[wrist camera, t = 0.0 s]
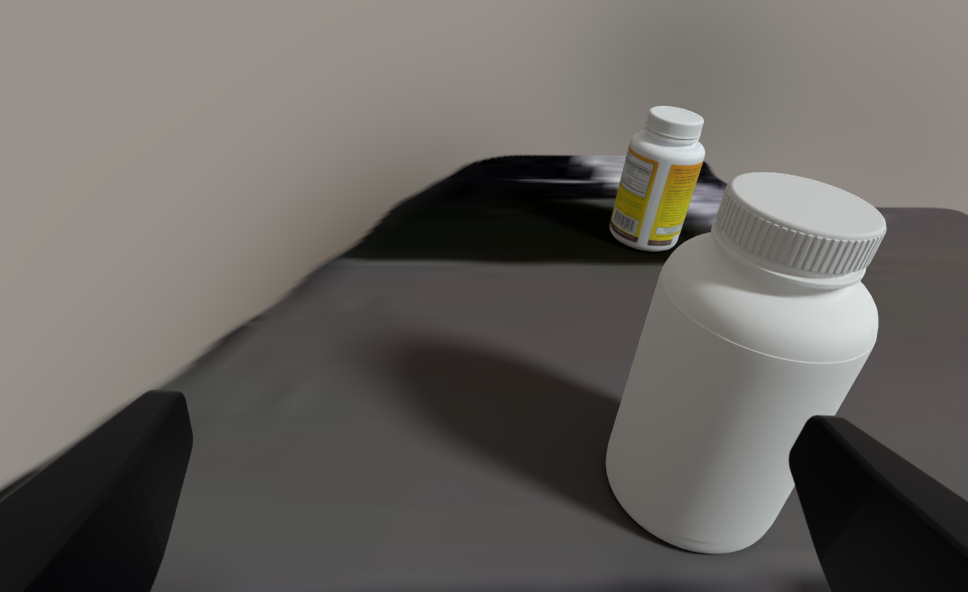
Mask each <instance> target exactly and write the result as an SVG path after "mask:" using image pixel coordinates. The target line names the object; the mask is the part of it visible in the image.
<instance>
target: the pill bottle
mask: <svg viewBox="0 0 968 592" xmlns="http://www.w3.org/2000/svg"><path fill="white" fill-rule="evenodd" d="M885 233H886V223H885V220H884V218H883V216H882V215H881V213H880V212H879V211H878V210H877V209H875V208H874V207H873V206H872V205H870V204H869V203H867V202H865V201H864V200H862V199H861V198H859V197H857V196H855V195H853V194H851V193H848V192H846V191H844V190H842V189H839V188H837V187H834V186H831V185H828V184H825V183H822V182H819V181H815V180H812V179H808V178H803V177H799V176H794V175H788V174H781V173H771V172H770V173H769V172H755V173H747V174H742V175H739V176H737V177H735V178H734V179H733V180H732V181H731V182H729V183H728V185H727V187H726V190H725V192H724V195H723V198H722V201H721V204H720V207H719V210H718V213H717V216H716V221H715V222H714V224H713V226H712V229H711V232H710V233H706V234H702V235H699V236H696V237H694V238H692V239H690V240H688V241H686V242H684V243H683V244H682V245H680V246H679V247H678V248H677V249H676V250H675V251H674V252H673V253H672V254H671V256H670V257H669V258H668V260H667V261H666V262H665V264H664V266H663V268H662V271H661V273H660V276H659V279H658V282H657V286H656V289H655V292H654V295H653V299H652V302H651V305H650V308H649V312H648V315H647V318H646V322H645V325H644V328H643V331H642V335H641V338H640V341H639V344H638V348H637V351H636V354H635V357H634V361H633V364H632V367H631V371H630V374H629V377H628V380H627V384H626V387H625V390H624V393H623V397H622V400H621V403H620V407H619V410H618V413H617V416H616V420H615V423H614V426H613V429H612V433H611V436H610V439H609V443H608V448H607V455H606V471H607V476H608V480H609V483H610V486H611V488H612V491H613V493H614V495H615V497H616V498H617V500H618V501H619V503H620V504H621V506H622V507H623V508H624V510H625V511H626V512H627V513H628V514H629V515H630V516H631V517H632V518H633V519H634V520H635V521H636V522H637V523H638V524H639V525H641V526H642V527H643V528H644V529H646V530H647V531H649V532H650V533H651V534H653V535H655V536H656V537H658V538H660V539H662V540H664V541H666V542H668V543H670V544H672V545H675V546H677V547H680V548H683V549H686V550H690V551H694V552H699V553H708V554H723V553H730V552H735V551H738V550H741V549H744V548H746V547H748V546H750V545H752V544H753V543H755V542H756V541H758V540H759V539H760V538H761V537H762V536H763V535H764V534H765V533H766V531H767V530H768V529H769V528H770V526H771V525H772V524H773V522H774V521H775V519H776V517H777V515H778V514H779V512H780V510H781V508H782V507H783V505H784V503H785V501H786V500H787V498H788V496H789V494H790V493H791V491H792V489H793V487H794V486H795V484H794V481H793V478H792V475H791V472H790V468H789V461H788V460H789V453H790V450H791V448H792V446H793V444H794V443H795V441H796V439H797V437H798V435H799V434H800V432H801V430H802V428H803V427H804V425H805V423H806V421H807V420H808V419H809V418H810V417H812V416H814V415H835V414H836V412H837V410H838V409H839V407H840V405H841V403H842V402H843V400H844V398H845V396H846V395H847V393H848V391H849V389H850V388H851V386H852V384H853V382H854V381H855V379H856V377H857V375H858V374H859V372H860V370H861V368H862V367H863V365H864V363H865V361H866V360H867V358H868V356H869V354H870V352H871V350H872V348H873V346H874V344H875V342H876V337H877V330H878V313H877V309H876V306H875V303H874V301H873V299H872V297H871V295H870V293H869V292H868V290H867V289H866V288H865V286H864V285H863V284H862V283H861V282H860V280H861V279H862V278H863V276H864V274H865V271H866V267H867V266H868V265H869V264H870V262H871V260H872V258H873V257H874V255H875V253H876V251H877V249H878V247H879V245H880V243H881V241H882V239H883V237H884V235H885Z"/></svg>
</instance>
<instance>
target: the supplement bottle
mask: <svg viewBox="0 0 968 592" xmlns="http://www.w3.org/2000/svg"><path fill="white" fill-rule="evenodd" d="M703 123H704V120H703V118H702V117H701V116H699V115H698V114H695V113H693V112H690V111H688V110H685V109H681V108H677V107H669V106H656V107H653V108H651V109H650V111H649V114H648V118H647V121H646V123H645V128H644V130H642V131H639V132H637V133H636V134H634V136H633V137H632V138H631V141H630V144H629V148H628V152H627V156H626V160H625V164H624V168H623V172H622V176H621V180H620V184H619V188H618V193H617V197H616V201H615V205H614V209H613V213H612V217H611V221H610V230H611V233H612V235H613V236H614V237H615V238H616V239H617V240H618V241H620V242H621V243H623V244H625V245H627V246H629V247H631V248H634V249H638V250H642V251H650V252H658V251H665V250H668V249H670V248H671V247H673V246H674V245H675V244H676V242H677V240H678V237H679V234H680V231H681V228H682V225H683V222H684V219H685V216H686V213H687V210H688V207H689V204H690V200H691V197H692V194H693V191H694V188H695V185H696V182H697V179H698V176H699V173H700V169H701V166H702V163H703V160H704V156H705V150H704V148H703V146H702V145H701V144H700V143H699V142H698V139H699V136H700V135H701V133H700V132H701V129H702V126H703Z"/></svg>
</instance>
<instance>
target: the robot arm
mask: <svg viewBox="0 0 968 592" xmlns="http://www.w3.org/2000/svg"><path fill="white" fill-rule="evenodd" d="M192 445H193V433H192V428H191V423H190V418H189V413H188V408H187V403H186V399H185V396H184V395H183V393H181V392H180V391H173V390H150V391H148V392H146V393H144V394H143V395H141V396H140V397H139V398H137V399H136V400H135V401H133V402H132V403H131V404H129V405H128V406H127V407H125V408H124V409H123V410H121V411H120V412H119V413H117V414H116V415H115V416H113V417H112V418H111V419H109V420H108V421H107V422H105V423H104V424H103V425H101V426H100V427H99V428H97V429H96V430H95V431H93V432H92V433H91V434H89V435H88V436H87V437H85V438H84V439H82V440H81V441H80V442H78V443H77V444H76V445H74V446H73V447H72V448H70V449H69V450H68V451H66V452H65V453H64V454H62V455H61V456H60V457H58V458H57V459H56V460H54V461H53V462H52V463H50V464H49V465H48V466H46V467H45V468H44V469H42V470H41V471H40V472H38V473H37V474H36V475H34V476H33V477H32V478H30V479H29V480H28V481H26V482H25V483H24V484H22V485H21V486H20V487H18V488H17V489H16V490H14V491H13V492H12V493H10V494H9V495H8V496H6V497H5V498H4V499H2V500H1V501H0V592H150V591H151V589H152V586H153V584H154V581H155V579H156V576H157V573H158V570H159V568H160V565H161V562H162V559H163V556H164V553H165V549H166V546H167V542H168V539H169V535H170V531H171V527H172V524H173V520H174V516H175V512H176V508H177V505H178V501H179V497H180V493H181V489H182V486H183V482H184V478H185V474H186V470H187V467H188V463H189V459H190V455H191V451H192ZM788 461H789V468H790V472H791V475H792V478H793V481H794V484H795V487H796V491H797V494H798V497H799V500H800V503H801V506H802V509H803V513H804V516H805V519H806V522H807V525H808V528H809V532H810V535H811V538H812V541H813V544H814V547H815V550H816V553H817V556H818V559H819V562H820V564H821V567H822V569H823V572H824V574H825V577H826V579H827V581H828V584H829V586H830V588H831V591H832V592H968V501H966V500H965V499H963V498H962V497H960V496H959V495H957V494H956V493H954V492H953V491H951V490H950V489H948V488H947V487H945V486H944V485H942V484H941V483H939V482H938V481H936V480H935V479H934V478H932V477H931V476H929V475H928V474H926V473H925V472H923V471H922V470H920V469H919V468H917V467H916V466H914V465H913V464H911V463H910V462H908V461H907V460H905V459H904V458H902V457H901V456H899V455H898V454H896V453H895V452H893V451H892V450H891V449H889V448H888V447H886V446H885V445H883V444H882V443H880V442H879V441H877V440H876V439H874V438H873V437H871V436H870V435H868V434H867V433H865V432H864V431H862V430H861V429H859V428H858V427H856V426H855V425H853V424H852V423H850V422H849V421H847V420H846V419H844V418H843V417H840V416H835V415H814V416H812V417H810V418H809V419H808V420H807V421H806V423H805V425H804V427H803V428H802V430H801V432H800V434H799V435H798V437H797V439H796V441H795V443H794V444H793V446H792V448H791V450H790V453H789V460H788Z"/></svg>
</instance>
